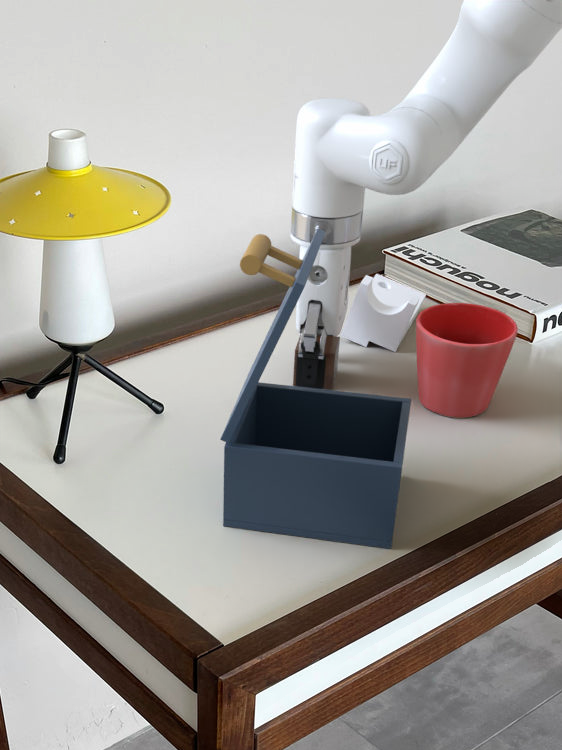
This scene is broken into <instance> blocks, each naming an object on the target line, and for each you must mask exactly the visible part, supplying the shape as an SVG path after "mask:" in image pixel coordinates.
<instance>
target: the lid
mask: <svg viewBox="0 0 562 750" xmlns="http://www.w3.org/2000/svg"><path fill="white" fill-rule="evenodd" d="M325 233H326V232H325V231H323V230H321V229H319V228H318V229H317V231H316V233H315V235H314V237H313V239H312V241H311V243H310V245H309V247H308V249H307V252H306V254H305V256H304V258H303V260H301V259H299V257H297V256H295V255H292V254H290V253H288V252H286V251H284V250H282V249H279V248H278V247H275V246H273V245H272V241H271V239H270V237H269V236H267V235H266V234H263V233H259V234H256V235H254V236H253V237H252V238H251V241H250V243H249V244H248V246H247V248H246V250H245V252H244V253H243V255H242V257H241V258H240V260H239V268H240V270H241V271H242V272H243V273H244V274H245V275H247V276H255V275H257V274H258V273H259V274H262V275H263V276H265V277H267V278H270V279H272V280H274V281H276V282H279V283H280V284H283V285H285V286H287V287H288V289H287V291H286V294H285V296H284V298H283V300H282V302H281V303H280V306H279V308H278V311H276V312H277V313H276V315H275V316H274V318H273V321H272V322H271V325H270V327H269V329H268V331H267V334H266V336H265V338H264V340H263V342H262V344H261V346H260V348H259V351H258V353H257V354H256V356H255V359H254V361H253V363H252V364H251V367H250V369H249V372H248V373H247V376H246V377H245V380H244V382H243V385H242V387H241V390H240V392H239V394H238V397H237V399H236V401H235V404H234V406H233V408H232V411H231V413H230V415H229V417H228V420H227V423H226V425H225V428H224V430H223V432H222V435H221V436H220V441H222V442H224V443H225V444H226V443H229V441H230V439H231V437H232V435H233V433H234V431H235V429H236V427H237V425H238V423H239V421H240V419H241V416H242V414H243V412H244V410H245V408H246V406H247V404H248V402H249V400H250V398H251V396H252V394H253V392H254V390H255V388H256V386H257V384H258V382H260V379H261V377H262V376H263V373H264V372H265V369H266V367H267V365H268V363H269V361H270V359H271V356H272V355H273V353H274V351H275V349H276V347H277V345H278V343H279V340H280V339H281V337H282V334H283V333H284V331H285V329H286V326H287V324H288V322H289V320H290V318H291V316H292V314H293V312H294V309H295V308H296V304H297V302H298V299H299V297H300V295H301V293H302V291H303V289H304V287H305V285H306V282H307V280H308V277H309V274H310V272H311V269H312V267H313V264H314V261H315V259H316V256H317V254H318V251H319V248H320V246H321V243H322V241H323V238H324V235H325ZM267 257H271V258H273V259H275V260H277V261H278V262H279V261H280V262H281V263H282V264H283V263H284V264H286V265H288V266H289V267H292V268H294V269H296V270H297V271H296V272H295V275H294V276H293V275H291V274H288V273H286V272H284V271H282V270H280V269H278V268H276V267H274V266H271V265H270V264H268V263H265V262H266V259H267Z"/></svg>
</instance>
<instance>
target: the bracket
mask: <svg viewBox="0 0 562 750" xmlns="http://www.w3.org/2000/svg"><path fill="white" fill-rule="evenodd" d="M426 296H427V294H426V293H424V292H422V291H419V290H417V289H414V288H412V287H411V286H407V285H405V284H403V283H400V282H398V281H395V280H393V279H391V278H388V277H386V276H383V275H381V274H379V273H376V274H374V276H370V275H367V274H365V276H364V277H363V278H362V280H361V281H360V283H359V286H358V288H357V290H356V293H355V295H354V298H353V301H352V304H351V307H350V308H349V311H348V314H347V316H346V318H345V321H344V323H343V326H342V329H341V332H340V334H339V335H340V336H339V337H342V338H344V339H347V340H349V341H351V342H353V343H356V344H358V345H360V346H363V347H365V348H367V347H368V345H369V343H370V342H371V343H373V344H375V345H378V346H380V347H383V348H384V349H387V350H389V351H391V352H394V353H396V351H397V350H398V349H399V347H400V345H401V343H402V341H403V340H404V338H405V337H406V334H407V333H408V331H409V330H410V328H411V326H412V325H413V323H414V321H415V320H416V318H417V316H418V315H419V313H420V310H421V308H422V306H423V303H424V301H425V299H426Z"/></svg>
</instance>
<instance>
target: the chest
mask: <svg viewBox="0 0 562 750" xmlns="http://www.w3.org/2000/svg"><path fill="white" fill-rule="evenodd" d="M411 405H412V398H408V397H399V396H390V395H383V394H382V395H381V394H370V393H363V392H353V391H344V390H336V389H335V390H333V389H332V390H331V389H316V388H307V387H298V386H294V385H287V384H278V383H269V382H261V381H259V382H258V384H257V386H256V388H255V390H254V392H253V394H252V396H251V398H250V400H249V402H248V404H247V406H246V408H245V410H244V412H243V414H242V416H241V419H240V421H239V423H238V425H237V427H236V429H235V431H234V433H233V435H232V437H231V439H230V441H229V443H226V442H225V443H224V446H223V501H222V502H223V508H222V510H223V511H222V512H223V513H222V516H223V517H222V526H223V527H228V528H233V529H242V530H248V531H257V532H265V533H270V534H271V533H272V534H278V535H285V536H293V537H301V538H307V539H316V540H323V541H328V542H329V541H330V542H336V543H337V542H338V543H345V544H351V545H359V546H367V547H374V548H381V549H388V550H389V549H390V550H391V549H392V544H393V538H394V532H395V531H394V530H395V523H396V515H397V509H398V502H399V501H398V500H399V494H400V486H401V479H402V473H403V464H404V457H405V449H406V442H407V436H408V435H407V434H408V426H409V419H410V412H411Z"/></svg>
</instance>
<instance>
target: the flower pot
mask: <svg viewBox="0 0 562 750" xmlns="http://www.w3.org/2000/svg"><path fill="white" fill-rule="evenodd" d="M518 328H519V327H518V325H517V323H516V321H515V320H514V319H513V317H511V316H509V315H508V314H506V313H505V312H503V311H501V310H499V309H497V308H492V307H489V306H486V305H481V304H477V303H468V302H467V303H466V302H447V303H445V302H444V303H439V304H435V305H431V306H429V307H426V308H424V309H422V310H421V311H419V312H418V314H417V316H416V318H415V345H416V346H415V348H416V350H415V352H416V374H417V375H416V377H417V391H418V400H419V402H420V404H421V405H422V406H423V407H424V408H426V409H427V410H428V411H430V412H433V413H436V414H439V415H441V416H444V417H449V418H455V419H457V418H458V419H459V418H460V419H464V418H465V419H467V418H472V417H476V416H479V415H480V414H483V413H484V412H485V411H487V409H488V408H489V406H490V404H491V401H492V399H493V396H494V394H495V391H496V389H497V387H498V385H499V381H500V380H501V376H502V374H503V372H504V369H505V367H506V365H507V362H508V360H509V357H510V354H511V352H512V349H513V346H514V344H515V341H516V339H517V335H518V332H519V331H518V330H519V329H518Z"/></svg>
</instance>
